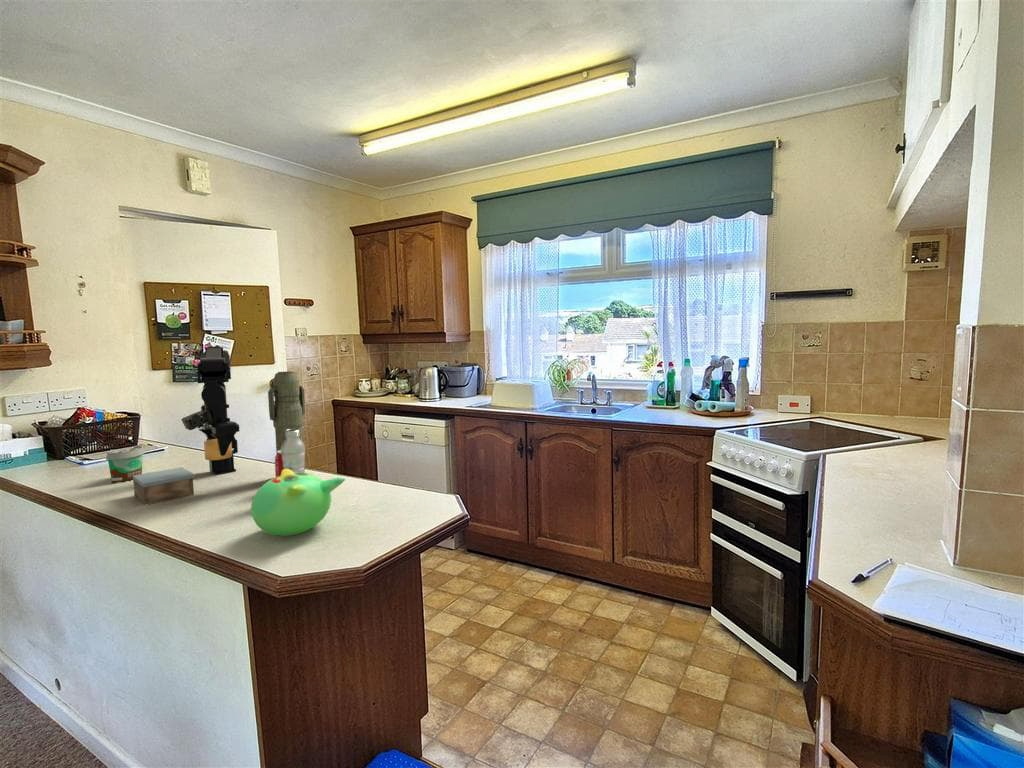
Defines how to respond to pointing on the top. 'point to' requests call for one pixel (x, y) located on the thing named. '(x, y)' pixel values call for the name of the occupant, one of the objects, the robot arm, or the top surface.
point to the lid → (163, 477)
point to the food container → (125, 464)
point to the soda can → (278, 463)
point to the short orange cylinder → (215, 450)
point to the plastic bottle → (293, 451)
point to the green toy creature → (292, 502)
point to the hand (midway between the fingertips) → (218, 453)
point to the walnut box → (163, 491)
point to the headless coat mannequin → (286, 406)
